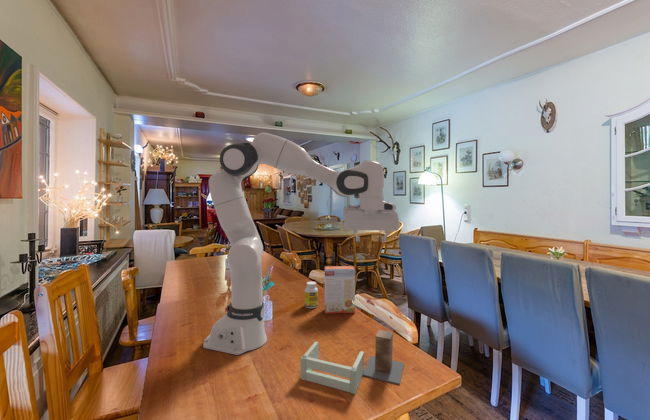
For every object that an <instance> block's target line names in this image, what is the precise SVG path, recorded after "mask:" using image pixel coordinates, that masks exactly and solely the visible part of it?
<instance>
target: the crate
mask: <svg viewBox="0 0 650 420" xmlns="http://www.w3.org/2000/svg"><path fill="white" fill-rule="evenodd" d="M319 344H320V342H319V341H314V342H313V343H312V345H311V346H310V347H309V348H308V349H307V350H306V352H305V353H304V354H303V355H301V357H300V380H302V381H308V382H311V383H315V384H318V385H322V386H325V387H330V388H333V389H336V390H340V391H344V392H347V393H350V394H353V395H356V394H357V391H358V388H359V385H360V384H361V383H360V382H361V381H362V378H363V377H364V376H363V372H364V370H365V352H364V351H362V350H361V351H359V354H358V355H357V357H356V359H355V361H354V363H353V365H352V366H349V365H344V364H339V363H336V362H331V361H327V360H322V359H319V357H320V356H319V355H320V350H319V348H320V347H319V346H320V345H319ZM314 370H317V371H314ZM318 371H320V372H318ZM321 372H324V373H321ZM326 373H328V374H326ZM329 374H331V375H329ZM334 375H335V376H334ZM338 376H339V377H338ZM342 377H344V378H342ZM346 378H347V379H346ZM348 379H349V380H348Z"/></svg>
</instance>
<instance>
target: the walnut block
mask: <svg viewBox="0 0 650 420" xmlns="http://www.w3.org/2000/svg"><path fill="white" fill-rule="evenodd" d="M393 337H394V332H393V331H392V332H391V331H387V330H381V329H378V330H377V333H376V334H375V349H374V351H375V354H374V356H375V371H378V372H382V373H387V374H390V372H391V368H392V360H393V342H394V341H393V339H394V338H393Z"/></svg>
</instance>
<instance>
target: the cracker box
mask: <svg viewBox="0 0 650 420" xmlns="http://www.w3.org/2000/svg"><path fill="white" fill-rule="evenodd" d="M352 300H353V301H355V302H356V268H355V266H353V265H352V266H350V265H349V266H348V265H345V266H344V265H343V266H342V265H341V266H338V265H337V266H333V265H332V266H329V265H328V266H327V265H326V266H325V265H324V314H356V303H355V304H353V303H352Z"/></svg>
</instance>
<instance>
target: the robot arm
mask: <svg viewBox="0 0 650 420" xmlns="http://www.w3.org/2000/svg"><path fill="white" fill-rule="evenodd" d="M219 163H220V167H221V168H222V169H221V170H219V171H216V172H214V173H213V174H212V175H211V176H210V177H209V179H208V187H209V193H210V197H211V201H212V204H213V208H214V210H215V213H216V216H217V219H218V222H219V224H220V227H221V229H222V231H223V232H224V234H225V236H226V237H227V240H228V242H229V244H230V248H229V250H228V254H227V259H228V260H227V261H228V270H229V277H230V284H231V285H230V287H231V289H230V290H231V293H230V294H231V301H230V303H229V304H228V305H226V307H225V309H224V313H226V314H225V315H223V316H222V317H221V318H219V319H218V320H217V321H216V322H215V323H214V324H213V325H212V328H211V329H210V334H209V335H208V336H207V337H206V338H204V341H203V343H202V344H203V345H202V348H203V349H207V350H212V351H216V352H222V353H226V354H231V355H235V356H237V355H242V354H244V353H246V352H249V351H252V350H256V349H258V348H260V347H262V346H264V345H265V344H266V342H267V341H268V337H267V334H266V330H265V329H266V328H265V323H264V316H265V305H264V301H263V273H262V257H263V253H264V245H263V242H262V240H261V239H262V238H261V236H260V234H259V232H258V229H257V226H256V224H255V222H254V220H253V218H252V217H253V216H252V214H251V211H250V209H249V206H248V205H249V204H248V203H247V200H246V197H245V194H244V191H243V187H242V182H244V181H245V180H247V179H249V177H251V176H253V175H254V174H255V173H256V172H257V171H258V168H259V165H266V166H270V167H272V168H275V169H276V170H279V171H282V172H284V173H288V174H293V175H299V176H302V177H303V176H304V177H308V178H311V179H312V180H315V181H317V182H320V183H322V184H324V185H326V186H328V187H329V188H331V190H332V191H333V192H334V193H335V194H336V195H338V196H340V197H344V198H345V197H346V198H347V197H351V196H355V195H359V204H347V205H345V206H344V207H343V210H342V211H343V213H342V214H343V216H344V220H343V228H344V229H345V230H347V231H348V230H349V231H350V230H351V231H353V232H352V233H353V234H354V237H355V242H356V243H360V242H361V236H358V234H357V233H358V231H384V236H382V237H381V241H380V242H381V243H386V241H387V237H388V236H389V235H390V231H394V232H395V231H398V230H399V229H400V219H399V214H398V213H397V211H396V209H397V206H396V204H394V203H391V202H389V201H385V200H384V199H385V198H384V197H385V196H384V186H385V179H384V178H385V175H384V174H385V173H384V167H383V165H382V163H380V162H377V161H374V160H363V161H362V162H360V163H358V164H357V165H354V166H353V167H350V168H346V169H343V170H342V171H338V170H337V171H336V170H334V169H331V168H329V167H327V166H324V165H323V164H321V163H318V161H316V160H314V159H313V158H312V156H310V155H309V154H308V151H306V149H304V148H303V147H301V146H300V145H299V144H298V143H295V142H294V141H291V140H289V139H287V138H285V137H281V136H279V135H276V134H272V133H269V132H260V133H258V134H256V135H255V137H254V138H253V139H252V142H251V143H250V142H240V143H232V144H231V143H230V144H229V145H227V146H225V147H223V149H222V150H221V152H220V154H219Z"/></svg>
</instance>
